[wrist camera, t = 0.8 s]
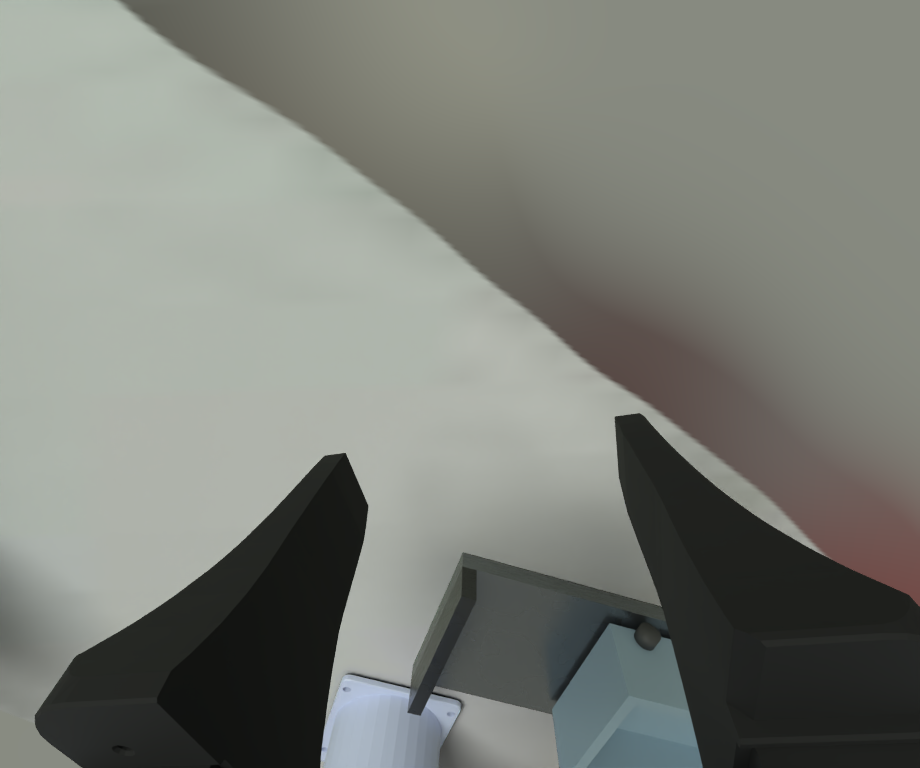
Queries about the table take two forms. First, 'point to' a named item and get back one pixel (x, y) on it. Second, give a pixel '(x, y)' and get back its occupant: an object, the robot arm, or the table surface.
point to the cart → (626, 706)
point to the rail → (516, 634)
